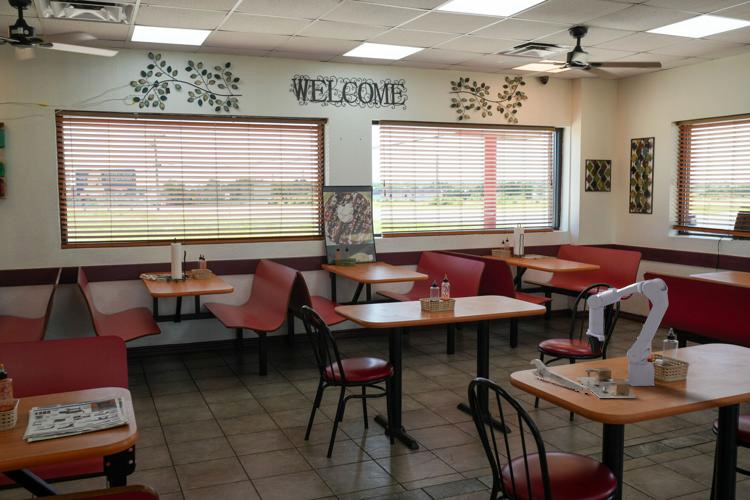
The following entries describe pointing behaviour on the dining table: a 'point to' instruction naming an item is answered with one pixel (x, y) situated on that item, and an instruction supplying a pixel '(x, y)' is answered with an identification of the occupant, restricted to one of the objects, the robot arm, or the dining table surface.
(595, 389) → the gauge plate
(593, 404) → the dining table surface
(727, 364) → the dining table surface
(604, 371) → the slider
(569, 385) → the wrench
